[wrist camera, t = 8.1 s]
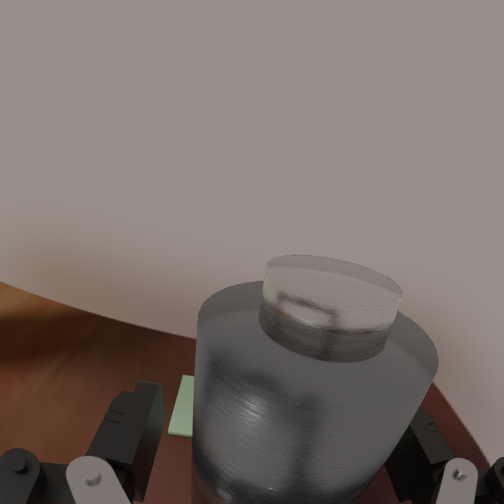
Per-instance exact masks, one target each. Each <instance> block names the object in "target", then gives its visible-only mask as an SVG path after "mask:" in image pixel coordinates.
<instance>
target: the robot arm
mask: <svg viewBox="0 0 504 504" xmlns="http://www.w3.org/2000/svg"><path fill="white" fill-rule="evenodd" d="M163 425H164V401H163V386H162V384H161V383H156V382H151V381H146V380H140V381H139V382H138V384H137V386H136V389H135V391H134V393H132V392H127V391H123V392H122V393H120V394H119V395H118V396H117V397H115V398H114V399H113V401H112V403H111V405H110V407H109V409H108V412H106V414H105V416H104V420H103V421H102V422H101V424H100V426H99V429H98V431H97V433H96V435H95V437H94V439H93V441H92V443H91V445H90V447H89V449H88V451H87V453H86V454H85V456H83V457H79V458H77V459H75V460H73V461H72V462H71V463H70V464H53V463H44V462H39V461H38V459H37V458H36V456H35V455H34V454H33V453H31V452H30V451H28V450H25V449H21V448H15V449H11V450H8V451H6V452H5V453H4V454H3V455H2V456H1V457H0V504H133V500H135V501H139V502H143V500H144V496H145V492H146V489H147V485H148V481H149V477H150V474H151V470H152V466H153V463H154V459H155V455H156V452H157V448H158V445H159V441H160V437H161V434H162V430H163ZM384 465H385V467H386V470H387V472H388V475H389V477H390V480H391V482H392V485H393V487H394V490H395V492H396V495H397V498H398V500H399V502H403V501H407V500H411V501H412V503H413V504H495V503H496V502H498V504H504V457H501V458H499V459H498V460H497V461H496V462H495V463H494V464H493V466H492V467H489V468H476V467H475V466H474V464H473V463H471V462H470V461H468V460H466V459H463V458H455V456H454V454H453V453H452V451H451V450H450V448H449V446H448V445H447V443H446V441H445V440H444V438H443V437H442V435H441V433H440V432H438V429H437V427H436V425H434V422H433V421H432V419H431V418H430V416H429V414H428V413H427V412H425V411H424V410H423V409H422V408H420V407H419V408H418V410H417V411H416V413H415V415H414V417H413V419H412V420H411V422H410V424H409V426H408V427H407V429H406V431H405V432H404V434H403V436H402V437H401V439H400V440H399V442H398V444H397V445H396V447H395V448H394V450H393V451H392V453H391V454H390V456H389V457H388V459H387V460H386V462H385V463H384Z"/></svg>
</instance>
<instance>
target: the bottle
mask: <svg viewBox="0 0 504 504" xmlns="http://www.w3.org/2000/svg"><path fill="white" fill-rule="evenodd" d="M401 297H402V290H401V288H400V287H399V286H398V284H396V283H395V282H394V281H393V280H391V279H390V278H388V277H387V276H385V275H383V274H381V273H379V272H377V271H375V270H372V269H369V268H367V267H364V266H361V265H357V264H355V263H351V262H347V261H343V260H338V259H333V258H328V257H320V256H312V255H286V256H280V257H276V258H273V259H271V260H270V261H269V262H268V263H267V265H266V272H265V278H264V281H256V282H249V283H243V284H238V285H234V286H231V287H227V288H225V289H223V290H220V291H218V292H217V293H215V294H214V295H212V296H211V297H209V298H208V299H207V300H206V301H205V302H204V304H203V305H202V306H201V309H200V311H199V314H198V325H197V340H196V356H195V375H194V397H193V426H192V504H354V503H355V502H356V501H357V500H358V498H359V497H360V496H361V495H362V493H363V492H364V491H365V489H366V488H367V487H368V486H369V484H370V483H371V482H372V480H373V479H374V477H375V476H376V475H377V473H378V472H379V471H380V469H381V468H382V466H383V465H384V463H385V462H386V460H387V459H388V457H389V456H390V454H391V453H392V451H393V450H394V448H395V447H396V445H397V444H398V442H399V440H400V439H401V437H402V436H403V434H404V432H405V431H406V429H407V427H408V426H409V424H410V422H411V420H412V419H413V417H414V415H415V413H416V411H417V410H418V408H419V406H420V404H421V402H422V400H423V398H424V397H425V395H426V393H427V391H428V389H429V387H430V385H431V383H432V381H433V379H434V376H435V374H436V372H437V368H438V355H437V351H436V348H435V346H434V344H433V342H432V341H431V339H430V338H429V336H428V335H427V334H426V333H425V332H424V330H423V329H422V328H421V327H419V326H418V325H417V324H416V323H415V322H413V321H412V320H411V319H409V318H408V317H407V316H405V315H403V314H402V313H400V312H399V311H397V310H398V307H399V303H400V300H401Z"/></svg>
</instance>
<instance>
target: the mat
mask: <svg viewBox="0 0 504 504" xmlns="http://www.w3.org/2000/svg"><path fill="white" fill-rule="evenodd" d="M193 397H194V376H188V375H183V378H182V381H181V385H180V388H179V392H178V395H177V399H176V403H175V406H174V410H173V414H172V417H171V421H170V425H169V429H168V433H169V434H175V435H181V436H187V437H192V426H193Z"/></svg>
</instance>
